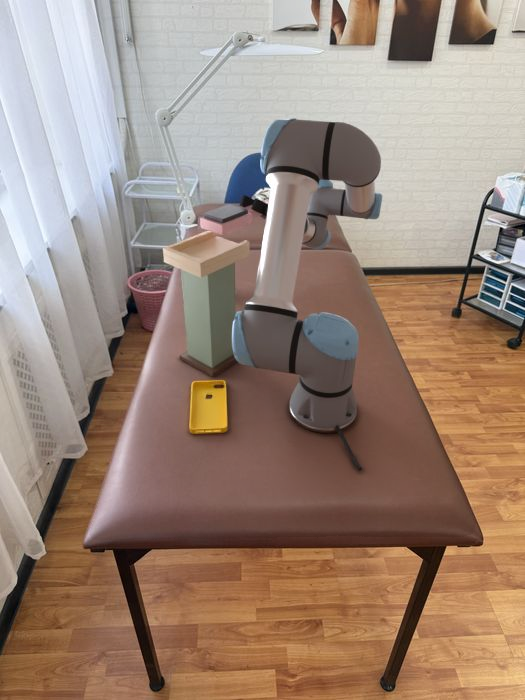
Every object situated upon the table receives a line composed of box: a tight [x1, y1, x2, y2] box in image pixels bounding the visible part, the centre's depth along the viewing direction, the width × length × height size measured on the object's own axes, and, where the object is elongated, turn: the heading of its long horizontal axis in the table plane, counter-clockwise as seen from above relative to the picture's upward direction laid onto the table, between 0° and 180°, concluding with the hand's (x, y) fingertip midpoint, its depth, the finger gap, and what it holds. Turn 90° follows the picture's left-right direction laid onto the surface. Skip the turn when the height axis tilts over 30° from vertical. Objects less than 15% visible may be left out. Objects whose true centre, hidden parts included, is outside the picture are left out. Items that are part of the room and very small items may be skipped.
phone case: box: [188, 379, 229, 435], centre depth 116 cm, size 8×17×1 cm, turn 5°
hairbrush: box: [199, 198, 270, 237], centre depth 121 cm, size 22×7×4 cm, turn 140°
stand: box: [162, 230, 251, 378], centre depth 124 cm, size 16×12×32 cm
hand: (248, 202), depth 121 cm, fingers closed on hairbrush, 3 cm apart
